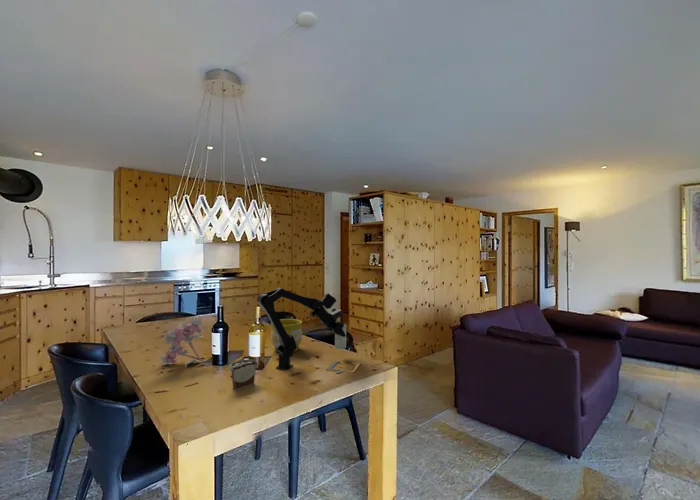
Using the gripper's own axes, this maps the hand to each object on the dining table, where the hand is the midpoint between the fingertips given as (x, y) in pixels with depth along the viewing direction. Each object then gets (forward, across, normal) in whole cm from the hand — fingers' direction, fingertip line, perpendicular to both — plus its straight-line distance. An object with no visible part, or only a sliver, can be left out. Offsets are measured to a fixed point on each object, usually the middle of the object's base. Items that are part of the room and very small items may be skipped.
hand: (342, 335), depth 191 cm
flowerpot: (-8, +27, +26) cm, 38 cm away
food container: (-30, -18, +48) cm, 59 cm away
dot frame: (+5, -13, +12) cm, 19 cm away
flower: (-48, +22, +66) cm, 84 cm away
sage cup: (+4, 0, +6) cm, 7 cm away
